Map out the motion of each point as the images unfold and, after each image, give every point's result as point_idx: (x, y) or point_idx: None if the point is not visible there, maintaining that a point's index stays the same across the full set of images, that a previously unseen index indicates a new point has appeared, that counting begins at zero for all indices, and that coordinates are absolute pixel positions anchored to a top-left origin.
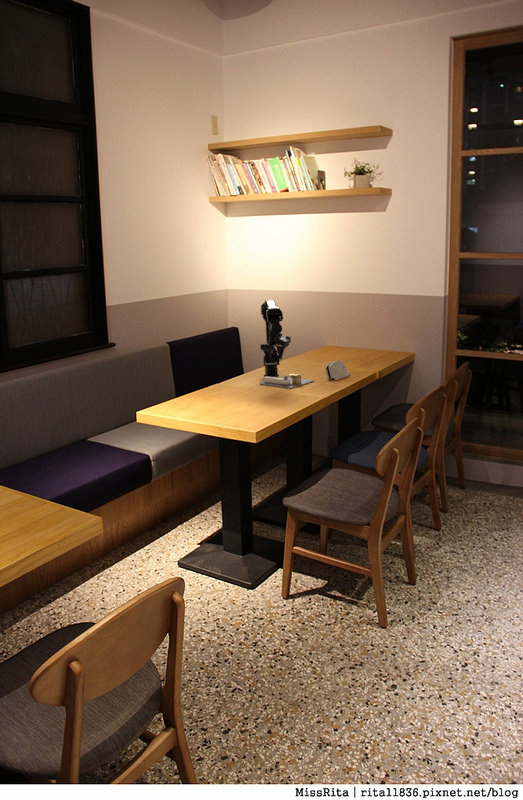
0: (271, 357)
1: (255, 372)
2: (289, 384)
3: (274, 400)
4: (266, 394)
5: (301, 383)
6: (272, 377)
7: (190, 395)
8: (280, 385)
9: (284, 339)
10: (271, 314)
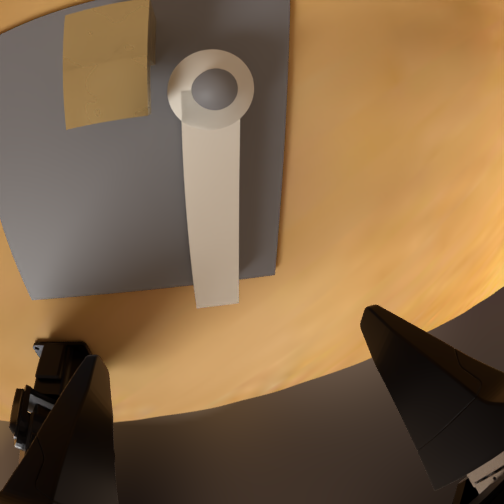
0: (422, 345)
1: None
2: None
3: (487, 15)
4: (448, 83)
5: None
6: (206, 253)
7: (467, 309)
8: (260, 107)
9: None
10: None
